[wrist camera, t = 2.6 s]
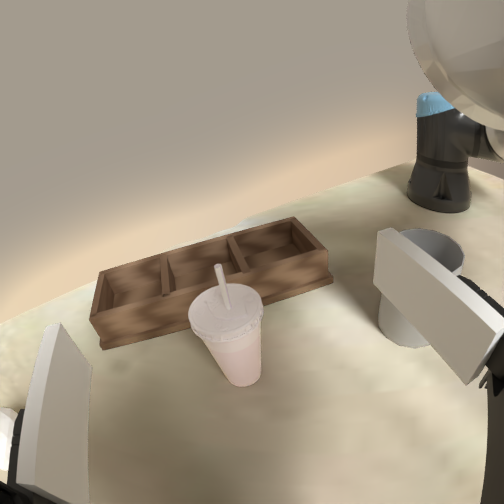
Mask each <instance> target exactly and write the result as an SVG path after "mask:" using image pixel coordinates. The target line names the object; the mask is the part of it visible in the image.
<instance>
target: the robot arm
mask: <svg viewBox="0 0 504 504" xmlns="http://www.w3.org/2000/svg"><path fill="white" fill-rule="evenodd" d="M407 29H408V34H409V39H410V43H411V45H412V49H413V51H414V54H415V56H416V59H417V60H418V63H419V64H420V67H421V68H422V70H423V72H424V74H425V75H426V77H427V78H428V80H429V81H430V82H431V83H432V85H433V86H434V88H435V89H436V90H437V91H438V92H428V93H423V94H421V95H419V96H418V98H417V113H416V117H417V159H416V163H415V166H414V169H413V172H412V175H411V178H410V180H409V182H408V188H407V195H408V197H409V198H410V199H411V200H412V201H413V202H415V203H416V204H418V205H420V206H422V207H425V208H428V209H431V210H435V211H440V212H448V213H455V212H462V211H465V210H467V209H468V208H469V207H470V203H471V191H470V183H469V176H468V171H467V166H468V165H467V164H468V157H475V158H481V159H486V160H491V161H496V162H500V163H504V0H409V1H408V6H407ZM373 284H374V285H375V286H376V287H377V288H378V289H379V290H380V291H381V292H382V293H383V294H384V295H385V297H386V298H387V299H388V300H389V301H390V302H391V303H392V304H393V305H394V306H395V307H396V308H397V309H398V310H399V311H400V312H401V313H402V314H403V315H404V316H405V318H406V319H407V320H408V321H409V322H410V323H411V324H412V325H413V326H414V327H415V328H416V329H417V331H418V332H419V333H420V334H421V335H422V336H423V337H424V338H425V339H426V340H427V342H428V343H429V344H430V345H431V346H432V347H433V348H434V349H435V350H436V352H437V353H438V354H439V355H440V356H441V357H442V358H443V360H444V361H445V362H446V363H447V364H448V365H449V367H450V368H451V369H452V370H453V371H454V372H455V373H456V375H457V376H458V377H459V378H460V379H461V381H462V382H463V383H464V384H465V385H468V384H469V383H470V382H471V381H473V380H474V379H475V378H476V377H478V376H479V374H480V373H481V371H482V370H483V368H484V366H485V365H486V366H487V367H488V371H487V372H486V374H485V376H484V377H483V379H482V380H481V382H480V383H479V388H482V386H483V385H484V383H485V382H486V381H487V384H486V386H485V389H487V395H488V436H487V454H486V466H485V475H484V483H483V490H482V497H481V503H480V504H504V308H503V307H502V306H500V305H499V304H498V303H497V302H496V301H495V300H494V299H492V298H491V297H490V296H488V295H487V293H485V292H484V291H483V290H480V287H478V286H477V285H476V284H475V283H474V282H472V281H471V280H469V279H467V278H465V277H463V276H461V275H458V276H455V275H454V274H453V273H451V272H450V271H449V270H448V269H447V268H445V267H444V266H443V265H441V264H440V263H439V262H438V261H436V260H435V259H434V258H433V257H431V256H430V255H429V254H427V253H426V252H425V251H423V250H422V249H421V248H419V247H418V246H417V245H415V244H414V243H413V242H411V241H410V240H409V239H407V238H406V237H405V236H403V235H402V234H400V233H399V232H398V231H396V230H395V229H393V228H392V227H390V228H386V229H383V230H380V231H377V245H376V258H375V268H374V278H373ZM91 377H92V366H91V365H90V364H89V362H88V361H87V360H86V358H85V357H84V355H83V354H82V353H81V351H80V350H79V349H78V347H77V346H76V344H75V343H74V341H73V340H72V339H71V337H70V336H69V334H68V333H67V331H66V330H65V328H64V327H63V325H62V324H61V322H60V323H56V324H52V325H48V326H46V328H45V331H44V334H43V337H42V341H41V344H40V348H39V351H38V355H37V358H36V362H35V366H34V370H33V374H32V378H31V382H30V387H29V391H28V396H27V401H26V406H25V409H20V411H19V413H18V415H17V418H16V420H15V422H14V428H13V436H12V441H11V444H12V447H11V449H10V457H9V467H8V479H7V485H6V484H5V483H3V482H1V481H0V504H90V495H89V476H88V423H89V403H90V389H91Z"/></svg>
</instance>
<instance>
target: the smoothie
mask: <svg viewBox="0 0 504 504" xmlns="http://www.w3.org/2000/svg"><path fill="white" fill-rule="evenodd" d="M214 268H215V272H216V275H217V279H218V283H219V285H218V286H215V287H212V288H210V289H208V290H206V291H204V292H203V293H201V294H200V295H199V296H197V297H196V298H195V300H194V301H193V302H192V304H191V306H190V308H189V311H188V318H189V321H190V324H191V328H192V330H193V331H194V333H195V334H196V335H197V336H199V337H200V338H201V339H202V340H203V342H204V343H205V345H206V346H207V348H208V349H209V351H210V353H211V354H212V356H213V357H214V359H215V360H216V362H217V364H218V365H219V367H220V368H221V370H222V371H223V373H224V374H225V376H226V377H227V379H228V380H229V382H230V383H231V384H233V385H235V386H239V387H246V386H250V385H252V384H254V383H255V382H256V381H257V380H258V379H259V378H260V376H261V320H262V318H263V314H264V309H263V305H262V301H261V297H260V295H259V294H258V293H257V292H256V291H255V290H254V289H253V288H251V287H249V286H246V285H242V284H235V283H232V284H226V281H225V277H224V273H223V269H222V265H221V264H216V265H215V266H214Z"/></svg>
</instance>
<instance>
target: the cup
mask: <svg viewBox="0 0 504 504" xmlns="http://www.w3.org/2000/svg"><path fill="white" fill-rule="evenodd" d="M399 233H400V234H402V235H403V236H405V237H406V238H407V239H409V240H410V241H411V242H413V243H414V244H415V245H417V246H418V247H419V248H421V249H422V250H423V251H425V252H426V253H427V254H429V255H430V256H431V257H433V258H434V259H435V260H436V261H438V262H439V263H440V264H441V265H443V266H444V267H445V268H447V269H448V270H449V271H450V272H451V273H453V274H454V275H455V276H458V275H461V271H462V267H463V263H464V258H465V254H464V252H463V250H462V248H461V246H460V245H459V244H458V243H457V242H455V241H454V240H453V239H452V238H450V237H449V236H447V235H444V234H442V233H439V232H437V231H433V230H427V229H420V228H418V229H408V230H403V231H401V232H399ZM378 323H379V328H380V329H381V331H382V332H383V334H384V335H385V337H386V338H387V339H389V340H391V341H392V342H394V343H396V344H397V345H399V346H404V347H410V348H419V347H424V346H428V345H430V344H429V343H428V342H427V340H426V339H425V338H424V337H423V336H422V335H421V334H420V333H419V332H418V331H417V329H416V328H415V327H414V326H413V325H412V324H411V323H410V322H409V321H408V320H407V319H406V318H405V316H404V315H403V314H402V313H401V312H400V311H399V310H398V309H397V308H396V307H395V306H394V305H393V304H392V303H391V302H390V301H389V300H388V299H387V298H386V297H385V295H384V294H383V293H381V300H380V306H379V312H378Z"/></svg>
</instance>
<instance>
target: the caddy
mask: <svg viewBox="0 0 504 504" xmlns="http://www.w3.org/2000/svg"><path fill="white" fill-rule="evenodd" d="M216 264H221V265H222V269H223V273H224V277H225V281H226V284H232V283H235V284H242V285H246V286H249V287H251V288H253V289H254V290H255V291H256V292H257V293H258V294H259V295H260V297H261V301H262V305H263V306H265V305H268V304H271V303H274V302H277V301H280V300H283V299H286V298H290V297H293V296H296V295H299V294H302V293H305V292H307V291H310V290H313V289H316V288H319V287H322V286H325V285H328V284H331V283H333V276H332V275H331V274H330V272H329V271H328V250H327V249H326V248H325V247H324V246H323V245H322V244H321V243H320V242H319V241H318V240H317V239H316V238H315V237H314V236H313V235H312V234H311V233H310V232H309V231H308V230H307V229H306V228H305V227H304V226H303V225H302V224H301V223H300V222H299V221H298V220H297V219H296V218H295V217H290V218H286V219H283V220H279V221H275V222H272V223H268V224H264V225H260V226H257V227H253V228H249V229H246V230H242V231H239V232H235V233H231V234H228V235H224V236H221V237H217V238H213V239H210V240H206V241H203V242H199V243H196V244H192V245H189V246H185V247H182V248H178V249H175V250H172V251H168V252H165V253H161V254H158V255H154V256H151V257H148V258H144V259H141V260H138V261H135V262H131V263H127V264H124V265H121V266H118V267H114V268H111V269H108V270H104V271H101V272H99V277H98V281H97V285H96V289H95V294H94V298H93V303H92V308H91V313H90V318H89V321H90V322H91V324H92V325H93V327H94V329H95V330H96V332H97V333H98V335H99V336H100V347H101V348H102V350H106V349H111V348H115V347H119V346H123V345H127V344H131V343H135V342H139V341H143V340H147V339H151V338H154V337H158V336H162V335H166V334H170V333H173V332H177V331H181V330H184V329H188V328H191V324H190V321H189V318H188V311H189V308H190V306H191V304H192V302H193V301H194V300H195V298H196V297H197V296H199V295H200V294H201V293H203V292H204V291H206V290H208V289H210V288H212V287H215V286H218V285H219V283H218V279H217V275H216V272H215V268H214V266H215V265H216Z"/></svg>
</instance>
